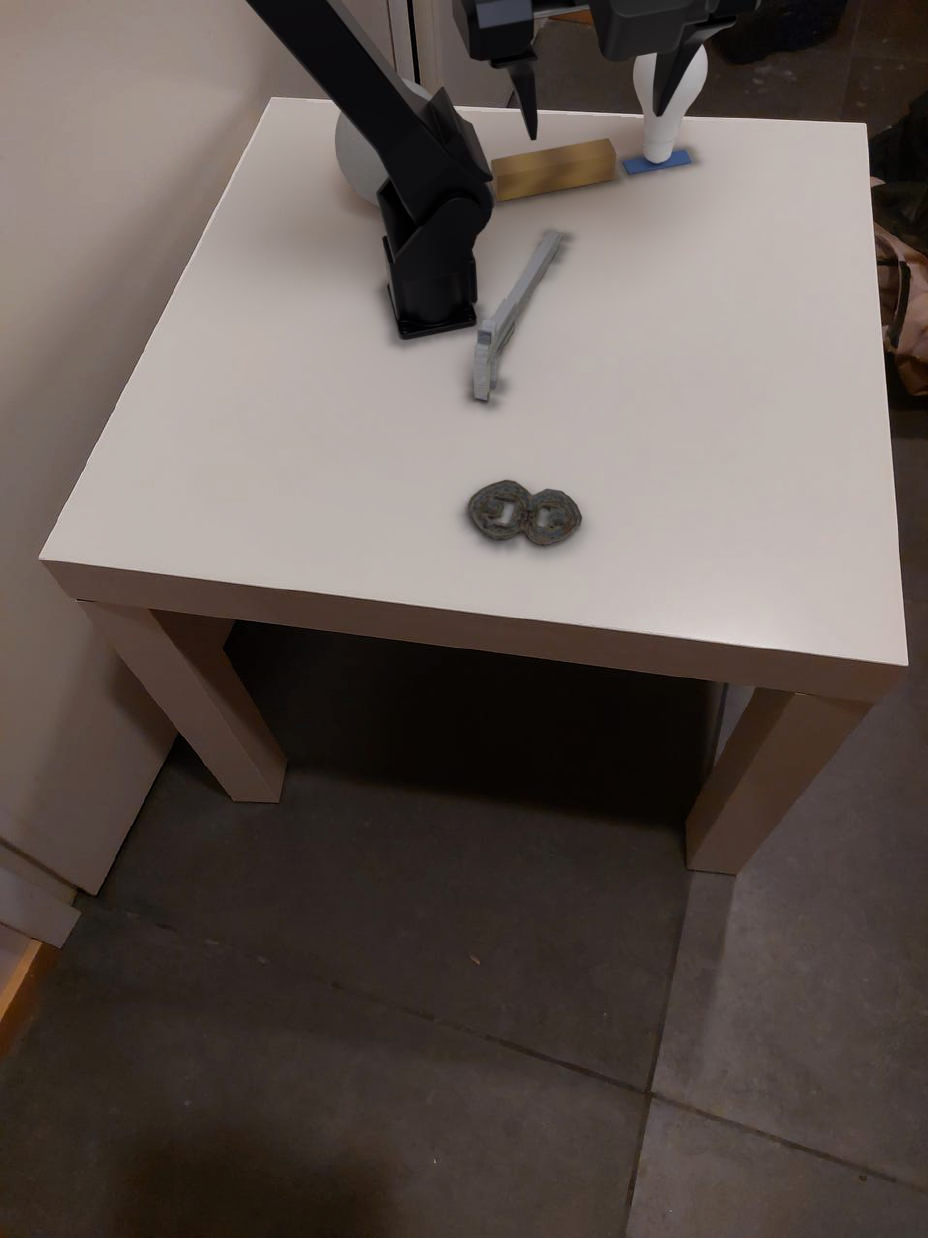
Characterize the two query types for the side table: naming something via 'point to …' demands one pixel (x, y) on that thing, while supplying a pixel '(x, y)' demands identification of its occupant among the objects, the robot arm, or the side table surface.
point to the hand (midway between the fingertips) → (594, 125)
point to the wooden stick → (553, 169)
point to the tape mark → (646, 165)
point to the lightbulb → (667, 126)
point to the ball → (363, 154)
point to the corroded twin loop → (524, 512)
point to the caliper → (508, 318)
